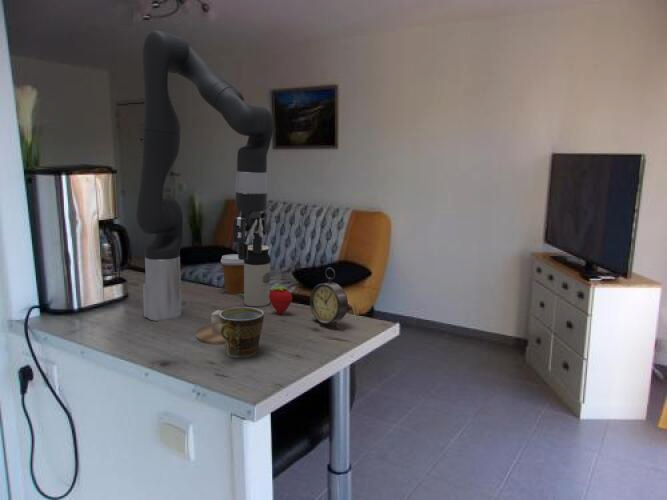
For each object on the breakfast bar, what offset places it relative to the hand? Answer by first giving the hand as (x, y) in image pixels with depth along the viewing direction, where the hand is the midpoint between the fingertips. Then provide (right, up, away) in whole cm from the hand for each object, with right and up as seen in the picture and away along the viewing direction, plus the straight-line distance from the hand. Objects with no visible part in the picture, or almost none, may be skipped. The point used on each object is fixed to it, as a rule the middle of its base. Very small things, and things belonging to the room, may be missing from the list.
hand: (250, 256), depth 125 cm
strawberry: (+5, -18, +22) cm, 29 cm away
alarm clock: (+19, -19, +14) cm, 31 cm away
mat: (-8, -21, +2) cm, 22 cm away
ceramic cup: (-1, -23, -10) cm, 25 cm away
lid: (-8, -20, +2) cm, 22 cm away
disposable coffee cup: (-13, -13, +46) cm, 50 cm away
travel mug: (-3, -15, +33) cm, 36 cm away
